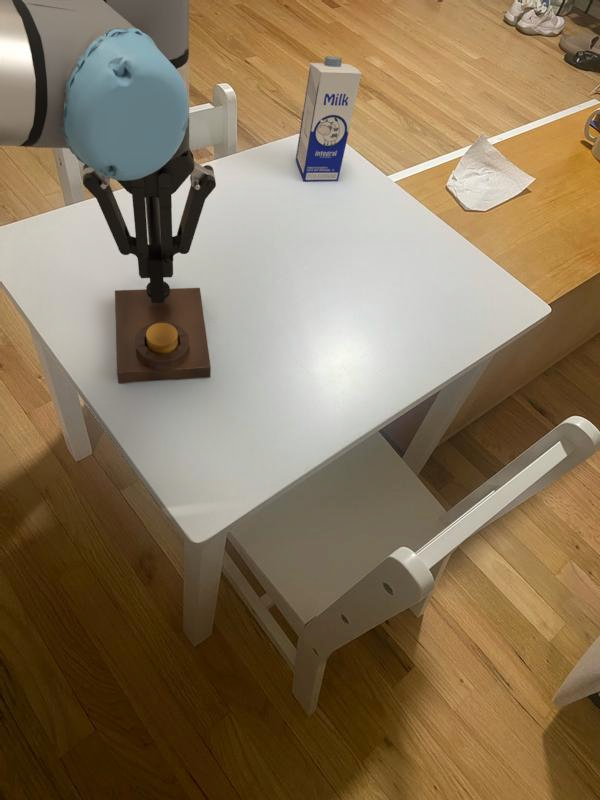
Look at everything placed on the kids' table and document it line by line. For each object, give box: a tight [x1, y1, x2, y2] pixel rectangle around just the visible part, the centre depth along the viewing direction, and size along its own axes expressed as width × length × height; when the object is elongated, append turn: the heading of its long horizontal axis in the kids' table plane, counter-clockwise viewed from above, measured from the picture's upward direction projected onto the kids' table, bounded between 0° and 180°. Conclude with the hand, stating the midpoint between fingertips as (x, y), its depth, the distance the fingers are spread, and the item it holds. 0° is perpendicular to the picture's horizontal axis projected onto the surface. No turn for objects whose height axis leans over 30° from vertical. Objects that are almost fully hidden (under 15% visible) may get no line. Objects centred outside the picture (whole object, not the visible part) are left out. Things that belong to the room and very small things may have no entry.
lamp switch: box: [146, 323, 178, 354], centre depth 79 cm, size 4×4×2 cm
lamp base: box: [114, 287, 212, 384], centre depth 83 cm, size 12×15×4 cm
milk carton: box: [295, 55, 363, 182], centre depth 105 cm, size 7×7×20 cm
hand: (157, 294), depth 72 cm, fingers closed
